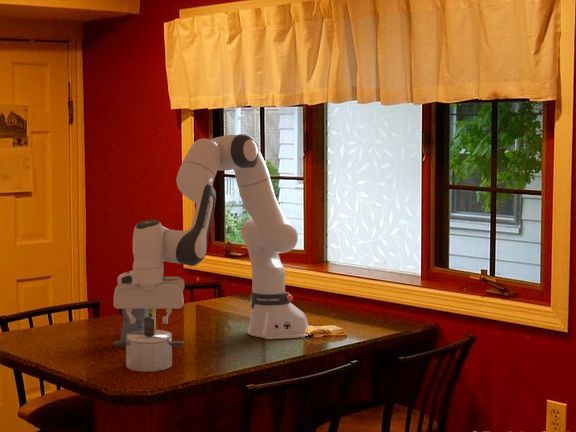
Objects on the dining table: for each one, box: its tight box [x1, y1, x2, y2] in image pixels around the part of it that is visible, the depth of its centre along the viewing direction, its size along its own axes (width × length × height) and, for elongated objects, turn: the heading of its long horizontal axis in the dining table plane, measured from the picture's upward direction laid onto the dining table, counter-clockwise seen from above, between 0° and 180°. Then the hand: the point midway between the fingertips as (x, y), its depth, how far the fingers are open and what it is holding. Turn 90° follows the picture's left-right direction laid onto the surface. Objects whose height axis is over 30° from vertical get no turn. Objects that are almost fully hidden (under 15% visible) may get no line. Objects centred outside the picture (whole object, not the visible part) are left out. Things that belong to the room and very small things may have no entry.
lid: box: [127, 317, 173, 344], centre depth 275 cm, size 13×13×6 cm
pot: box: [113, 338, 185, 372], centre depth 276 cm, size 20×13×8 cm, turn 93°
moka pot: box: [118, 309, 148, 341], centre depth 301 cm, size 10×15×20 cm, turn 58°
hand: (148, 323), depth 275 cm, fingers open, 8 cm apart
